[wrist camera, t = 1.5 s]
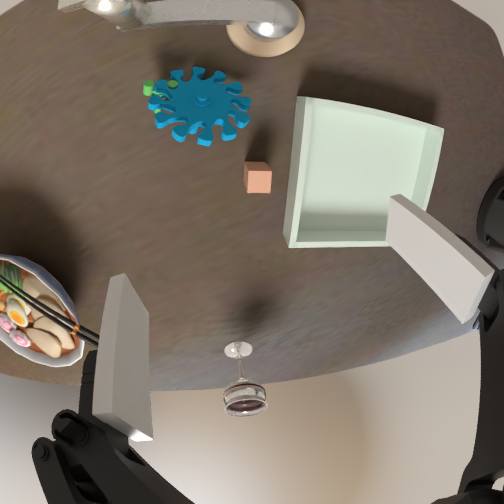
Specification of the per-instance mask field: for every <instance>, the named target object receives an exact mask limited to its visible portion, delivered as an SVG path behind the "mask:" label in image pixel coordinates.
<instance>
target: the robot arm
mask: <svg viewBox="0 0 504 504" xmlns="http://www.w3.org/2000/svg"><path fill="white" fill-rule="evenodd" d="M477 235H478V238H479V240H480V241H481V242H482V243H483V244H484V245H485V246H487V247H488V248H490V249H493V250H496V251H499V252H501V253H504V177H503V178H500V179H498V180H497V181H496V182H495V183H494V184H493V185H492V186H491V188H490V189H489V191H488V192H487V194H486V196H485V198H484V200H483V202H482V205H481V208H480V211H479V215H478V219H477ZM385 241H386V242H387V243H388V244H389V245H390V246H391V247H392V248H393V249H394V250H395V251H396V252H397V253H398V254H399V255H400V256H401V257H402V258H403V259H404V260H405V261H406V262H407V263H408V264H409V265H410V266H411V267H412V268H413V269H414V270H415V271H416V272H417V273H418V274H419V275H420V276H421V277H422V278H423V280H424V281H425V282H426V283H427V284H428V285H429V286H430V287H431V288H432V289H433V290H434V292H435V293H436V294H437V295H438V296H439V297H440V298H441V299H442V301H443V302H444V303H445V304H446V305H447V306H448V307H449V309H450V310H451V311H452V312H453V313H454V315H455V316H456V317H457V318H458V319H459V321H460V322H461V323H462V324H463V323H464V322H466V321H467V320H469V319H470V318H472V317H473V315H474V313H475V311H476V309H477V307H478V308H479V310H480V313H479V315H478V317H477V319H476V321H475V322H474V324H473V329H475V327H476V325H477V324H478V328H477V329H478V330H479V334H480V346H481V389H480V404H479V415H478V424H477V433H476V439H475V446H474V451H473V456H472V459H471V461H470V462H469V464H468V465H467V466H466V468H465V470H464V472H463V475H462V479H461V482H460V486H459V490H458V493H457V495H453V496H450V497H448V498H442V499H438V500H436V501H435V502H433V503H431V504H504V486H503V491H499V490H495V489H492V486H493V484H494V482H495V481H496V480H497V479H498V478H501V477H503V476H504V269H502V270H499V269H498V268H497V267H496V266H495V265H494V264H493V263H492V262H491V261H490V260H489V259H488V258H486V257H485V256H484V255H483V254H482V253H481V252H480V251H479V252H478V249H476V248H475V247H474V246H472V244H471V243H469V242H468V241H467V240H466V239H465V238H463V237H461V236H459V235H457V234H453V233H452V232H451V231H450V230H448V229H447V228H446V227H445V226H443V225H442V224H441V223H440V222H438V221H437V220H436V219H434V218H433V217H432V216H431V215H429V214H428V213H427V212H425V211H424V210H423V209H421V208H420V207H418V206H417V205H416V204H414V203H413V202H412V201H410V200H409V199H407V198H406V197H405V196H403V195H402V194H397V195H394V196H390V198H389V210H388V221H387V230H386V239H385ZM82 374H83V376H82V381H81V383H82V385H81V390H80V401H79V413H78V414H77V413H76V412H74V411H72V410H69V409H66V410H62V411H60V412H59V413H57V415H56V416H55V418H54V419H53V422H52V435H53V438H54V439H56V440H55V441H51V440H50V439H48V438H45V437H41V438H38V439H37V440H36V441H35V442H34V444H33V446H32V458H33V462H34V465H35V468H36V471H37V474H38V478H39V481H40V483H41V486H42V489H43V492H44V494H45V496H46V499H47V502H48V504H195V503H193V502H192V501H191V500H189V499H188V498H187V497H185V496H184V495H183V494H182V493H181V492H179V491H178V490H177V489H176V488H174V487H173V486H172V485H171V484H170V483H169V482H168V481H166V480H165V479H164V478H163V477H162V476H161V475H160V474H159V473H158V472H156V471H155V470H154V469H153V468H152V467H151V466H150V465H149V464H148V463H147V462H146V461H145V460H144V459H143V458H142V457H141V456H140V455H139V454H138V453H137V452H136V451H135V450H134V449H133V448H132V447H131V446H129V444H128V437H129V438H131V439H132V440H134V441H145V440H153V429H152V418H151V402H150V383H149V313H148V311H147V310H146V308H145V306H144V305H143V303H142V301H141V300H140V298H139V296H138V295H137V293H136V291H135V290H134V288H133V286H132V284H131V283H130V281H129V279H128V277H127V276H126V274H125V273H123V274H120V275H117V276H113V277H111V278H110V282H109V287H108V292H107V297H106V302H105V307H104V313H103V318H102V324H101V331H100V337H99V344H98V350H93V351H89V353H88V355H87V357H86V359H85V361H84V365H83V372H82Z"/></svg>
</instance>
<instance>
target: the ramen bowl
mask: <svg viewBox="0 0 504 504" xmlns="http://www.w3.org/2000/svg"><path fill="white" fill-rule="evenodd" d="M83 333H84V334H86V335H88V336H90V337H91V338H93V339H95V340H97V341H99V337H100V335H98V334H96V333H94V332H92V331H90V330H88V329H87V328H85V327H83V326H81V325H80V322H79V319H78V316H77V312H76V309H75V306H74V304H73V302H72V300H71V298H70V297H69V296H68V294H67V293H66V291H65V290H64V288H63V287H62V285H61V284H60V282H59V281H58V280H56V279H55V278H54V277H53V276H52V275H51V274H50V273H49V272H48V271H47V270H46V269H45V268H44V267H42V266H40V265H38V264H36V263H34V262H32V261H30V260H29V259H27V258H25V257H21V256H13V255H5V254H0V340H1V341H3V342H4V343H5V344H6V345H7V346H9V347H10V348H11V349H12V350H13V351H15V352H16V353H18V354H20V355H22V356H24V357H26V358H28V359H30V360H32V361H34V362H36V363H40V364H44V365H48V366H52V367H60V366H71V365H72V364H73V363H75V362H76V361H78V360H79V359H80V358H82V354H83V348H84V343H85V342H87V343H88V344H90V345H92V346H94V347H95V348H97V349H98V344H99V343H98V342H96V341H94V340H92V339H91V338H89V337H87V336H85V335H83Z"/></svg>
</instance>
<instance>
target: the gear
mask: <svg viewBox="0 0 504 504" xmlns="http://www.w3.org/2000/svg"><path fill="white" fill-rule="evenodd" d="M204 72H205V69H204V68H201V67H193V69H192V73H191V76H192V79H191V80H190V81H188V82H184V81H182V79H183V74H184V72H183V70H174V71H171V75H170V80H171V81H169V82H168V83H167V81H166V80H164V79H162V80H159V81H158V82H156V83H155V84H154V81H153V80H146V81H145V82H144V88H143V93H144V95H152V96H151V97H150V100H149V106H148V109H150V110H154V112H155V124H156V126H157V128H163V127H165V126H166V125H168V124H170V123H173V122H185V123H187V125H178V126H175V127H174V128H173V130H172V136H173V138H174V139H176V140H177V141H179V142H183V141H184V140H185V139H186V136H187V134H188V133H190V134H195V133H197V131H198V127H199V126H200V127H203V128H205V130H203V131H201V132H200V133H199V135H198V139H197V143H198V144H200V145H205V146H210V145H211V143H212V140H213V134H212V127H213V125H215V124H219V125H221V126H222V127H223V130H222V133H221V138H222V139H223V140H231V139H234V138H235V136H236V134H237V130H236V129H235V128H234V127H233V126H232V125H231V124H230V123H229V121H228V118H227V116H232V117H233V118H234V119H235V123H236V125H237V126H238V127H239V128H243V127H245V126H246V125H247V123H248V122H249V120H250V118H251V117H250V116H249V115H248V114H245V113H242V112H240V111H238V110H237V109H236V108H235V107H234V106H233V105H232V104H235V105H236V106H237V107H238V108H239V109H240V110H242V111H247V110H248V109H249V107H250V105H251V99H250V98H248V97H236V96H233V95H231V94H234V95H240V94H241V92H242V90H243V88H242V85H241V84H240V83H239V82H233V83H231V84H228V85H218V84H215V83H223V82H224V81H225V78H226V75H225V74H224V73H223V72H221V71H215V73H214V75H213V76H212V77H211V78H209V79H206V80H200V78H202V77H203V75H204ZM227 92H229V93H231V94H228V93H227ZM161 109H165V110H168V111H171V112H173V113H174V114H167V113H164V112H161Z"/></svg>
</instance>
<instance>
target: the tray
mask: <svg viewBox="0 0 504 504" xmlns="http://www.w3.org/2000/svg"><path fill="white" fill-rule="evenodd" d="M443 134H444V129H443V128H440V127H437V126H434V125H431V124H428V123H425V122H421V121H418V120H415V119H411V118H408V117H404V116H401V115H397V114H393V113H389V112H385V111H381V110H377V109H372V108H368V107H363V106H358V105H353V104H348V103H343V102H337V101H331V100H325V99H318V98H311V97H302V96H296V108H295V120H294V131H293V142H292V152H291V162H290V172H289V182H288V191H287V201H286V209H285V218H284V227H283V236H284V238H285V240H286V242H287V245H288V247H289V248H307V247H365V246H390V245H389V244H388V243H387V242H386V241H385V239H386V230H387V221H388V210H389V198H390V196H394V195H397V194H402V195H403V196H405V197H406V198H407V199H409V200H410V201H412V202H413V203H414V204H416V205H417V206H418V207H420V208H421V209H423V210H424V211H425V212H426V208H427V205H428V201H429V197H430V194H431V190H432V186H433V182H434V178H435V173H436V169H437V165H438V160H439V155H440V150H441V145H442V139H443Z"/></svg>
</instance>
